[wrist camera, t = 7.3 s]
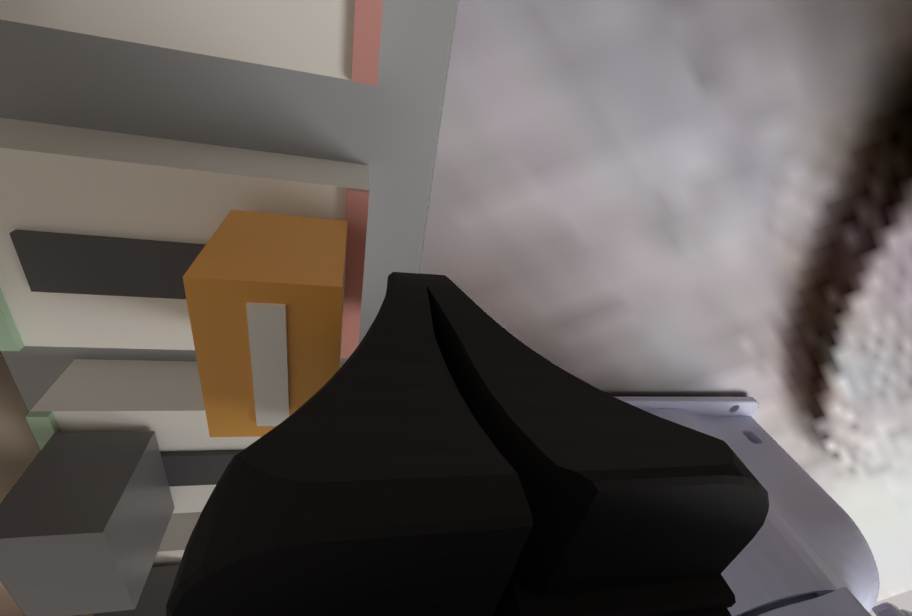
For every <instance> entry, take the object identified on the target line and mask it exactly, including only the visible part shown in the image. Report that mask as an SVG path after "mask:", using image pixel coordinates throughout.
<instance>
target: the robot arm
mask: <svg viewBox="0 0 912 616" xmlns="http://www.w3.org/2000/svg"><path fill="white" fill-rule="evenodd" d="M758 406H759V403H758V402H757V401H756V400H755V399H754V398H753V397H613V396H611V395H609V394H607V393H605V392H603V391H601V390H599V389H597V388H595V387H593V386H591V385H590V384H588V383H586V382H584V381H582V380H580V379H579V378H577V377H575V376H573V375H571V374H569V373H568V372H566V371H564V370H563V369H561V368H559V367H558V366H556V365H554V364H553V363H551V362H550V361H548V360H547V359H545V358H544V357H542V356H541V355H539V354H538V353H536V352H534V351H533V350H531V349H530V348H529V347H527V346H526V345H524V344H523V343H522V342H520V341H519V340H518V339H517V338H515V337H514V336H513V335H511V334H510V333H509V332H508V331H506V330H505V329H504V328H503V327H501V326H500V325H499V324H498V323H497V322H495V321H494V320H493V319H492V318H491V317H490V316H488V315H487V314H486V313H485V312H484V311H483V310H482V309H481V308H480V307H478V306H477V305H476V304H475V303H474V302H473V301H472V300H471V299H470V298H469V297H468V296H467V295H466V294H465V293H464V292H463V291H462V290H461V289H459V288H458V287H457V286H456V285H455V284H454V283H453V282H452V281H451V280H450V279H449V278H447V277H446V276H445V275H431V274H417V273H404V272H392V273H391V274H390V275H388V280H387V289H386V295H385V298H384V301H383V303H382V305H381V307H380V310H379V312H378V314H377V316H376V318H375V320H374V321H373V323H372V325H371V326H370V328H369V330H368V332H367V333H366V335H365V336H364V338H363V339H362V341H361V342H360V344H359V345H358V347H357V348H356V349H355V351H354V352H353V353H352V354H351V356H350V357H349V358H348V360H347V361H346V362H345V363H344V364H343V365H342V367H341V368H340V369H339V370H338V371H337V372H336V373H335V374H334V375H333V377H332V378H331V379H330V380H329V381H328V382H327V383H326V384H325V385H324V386H323V387H322V388H321V389H320V390H319V391H318V392H317V393H315V394H314V395H313V396H312V397H311V398H310V399H309V400H307V401H306V402H305V403H304V404H303V405H302V406H301V407H299V408H298V409H297V410H296V411H295V412H294V413H293V414H292V415H290V416H289V417H288V418H287V419H285V420H284V421H283V422H282V423H280V424H279V425H278V426H276V427H275V428H273V429H272V430H271V431H269V432H268V433H266V434H265V435H264V436H262V437H261V438H259V439H258V440H257V441H255V442H254V443H252V444H251V445H250V446H248V447H247V448H245V449H244V450H243V451H241V452H240V453H238V454H237V455H235V456H234V457H233V458H232V460H231V461H230V463H229V464H228V466H227V468H226V469H225V471H224V473H223V474H222V476H221V478H220V479H219V481H218V483H217V484H216V486H215V488H214V490H213V492H212V493H211V495H210V497H209V499H208V501H207V503H206V505H205V506H204V508H203V510H202V512H201V514H200V517H199V519H198V521H197V523H196V525H195V527H194V529H193V531H192V533H191V536H190V538H189V540H188V543H187V545H186V548H185V551H184V554H183V557H182V560H181V563H180V566H179V569H178V571H177V574H176V577H175V580H174V583H173V586H172V589H171V592H170V595H169V598H168V601H167V604H166V616H871V615H870V613H871V612H872V610H873V611H874V613H875V614H876V615H877V616H912V612H910V611H906V610H903V609H902V610H900V609H898V608H897V607H896V606H895V605H893V604H891V603H888V602H887V603H882V604H880V605H878V606H876V607H874V606H875V604H876V601H877V597H878V593H879V574H878V570H877V566H876V562H875V560H874V557H873V554H872V552H871V550H870V547H869V545H868V543H867V541H866V540H865V538H864V536H863V534H862V533H861V531H860V530H859V528H858V527H857V525H856V524H855V523H854V521H853V520H852V519H851V518H850V516H849V515H848V514H847V513H846V512H845V511H844V510H843V509H842V508H841V507H840V506H839V505H838V504H837V503H836V502H835V501H834V500H833V499H832V498H831V497H830V496H829V495H828V494H827V493H826V492H825V491H824V490H823V489H822V488H821V487H820V486H819V485H818V484H817V483H816V482H815V481H814V480H813V479H812V478H811V477H810V476H809V475H808V473H807V472H806V471H805V470H804V469H803V468H802V467H801V466H800V465H799V464H798V463H797V462H796V461H795V460H794V459H793V458H792V457H791V456H790V455H789V454H788V453H787V452H786V451H785V450H784V449H783V448H782V447H781V446H780V445H779V444H778V443H777V442H776V441H775V440H774V439H773V438H772V437H771V436H770V435H769V434H768V433H767V432H766V431H765V430H764V429H763V428H762V427H761V426H760V425H759V424H758V423H757V422H756V421H755V420H754V419H753V418H752V415H753V414H754V413H755V411H756V410H757V408H758Z"/></svg>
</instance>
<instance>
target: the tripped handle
mask: <svg viewBox="0 0 912 616" xmlns="http://www.w3.org/2000/svg"><path fill="white" fill-rule="evenodd" d="M346 242H347V221H344V220H334V219H323V218H313V217H303V216H292V215H282V214H272V213H262V212H251V211H241V210H230V212H229V213H228V214H227V216H226V217H225V219H224V220H223V221H222V223H221V224H220V226H219V227H218V228H217V230H216V231H215V233H214V234H213V235H212V237H211V238H210V240H209V241H208V242H207V244H206V245H205V246H204V248H203V249H202V251H201V252H200V253H199V255H198V256H197V258H196V259H195V260H194V262H193V263H192V265H191V266H190V267H189V269H188V270H187V272H186V273H185V274H184V276H183V282H184V288H185V294H186V300H187V306H188V312H189V318H190V324H191V330H192V335H193V341H194V347H195V353H196V359H197V365H198V371H199V377H200V382H201V388H202V394H203V400H204V406H205V412H206V418H207V424H208V430H209V435H210V437H256V436H264V435H265V434H266V433H268V432H269V431H271V430H272V429H273V428H275V427H276V426H278V425H279V424H280V423H282V422H283V421H284V420H285V419H287V418H288V417H289V416H290V415H292V414H293V413H294V412H295V411H296V410H297V409H298V408H299V407H301V406H302V405H303V404H304V403H305V402H306V401H307V400H309V399H310V398H311V397H312V396H313V395H314V394H315V393H317V392H318V391H319V390H320V389H321V388H322V387H323V386H324V385H325V384H326V383H327V382H328V381H329V380H330V379H331V378H332V377H333V375H334V374H335V373H336V372H337V371H338V370H339V369H340V364H341V349H342V328H343V306H344V285H345V264H346Z"/></svg>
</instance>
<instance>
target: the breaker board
mask: <svg viewBox="0 0 912 616" xmlns="http://www.w3.org/2000/svg"><path fill="white" fill-rule="evenodd" d="M457 6H458V0H0V351H1V353H2V355H3V358H4V360H5V362H6V364H7V366H8V368H9V371H10V373H11V375H12V377H13V379H14V382H15V384H16V386H17V388H18V390H19V392H20V395H21V397H22V399H23V401H24V403H25V405H26V408H27V410H28V412H29V413H28V414H27V415H26V416H25V418H26V421H27V423H28V425H29V427H30V429H31V431H32V433H33V436H34V438H35V440H36V442H37V444H38V446H39V448H40V450H41V451H40V452H39V454H38V455H37V456H36V458H35V459H34V460H33V462H32V463H31V464H30V465H29V467H28V468H27V469H26V471H25V472H24V473H23V475H22V476H21V477H20V479H19V480H18V481H17V483H16V484H15V485H14V487H13V488H12V489H11V491H10V492H9V493H8V494H7V496H6V497H5V498H4V500H3V501H2V502H1V504H0V581H1V582H2V583H3V585H4V586H5V588H6V589H7V591H8V592H9V593H10V595H11V596H12V598H13V599H14V601H15V602H16V604H17V605H18V606H19V608H20V609H21V611H22V612H23V614H24V615H25V616H74V615H84V614H93V616H166V604H167V601H168V598H169V595H170V592H171V589H172V586H173V583H174V580H175V577H176V574H177V571H178V569H179V566H180V563H181V560H182V557H183V554H184V551H185V548H186V545H187V543H188V540H189V538H190V536H191V533H192V531H193V529H194V527H195V525H196V523H197V521H198V519H199V517H200V514H201V512H202V510H203V508H204V506H205V505H206V503H207V501H208V499H209V497H210V495H211V493H212V492H213V490H214V488H215V486H216V484H217V483H218V481H219V479H220V478H221V476H222V474H223V473H224V471H225V469H226V468H227V466H228V464H229V463H230V461H231V460H232V458H233V457H234V456H235V455H237V454H238V453H240V452H241V451H243V450H244V449H245V448H247V447H248V446H250V445H251V444H252V443H254V442H255V441H257V440H258V439H259V438H261V437H262V436H256V437H210V435H209V430H208V424H207V418H206V412H205V406H204V400H203V394H202V388H201V382H200V377H199V371H198V365H197V359H196V353H195V347H194V341H193V335H192V330H191V324H190V318H189V312H188V306H187V300H186V294H185V288H184V282H183V276H184V274H185V273H186V272H187V270H188V269H189V267H190V266H191V265H192V263H193V262H194V260H195V259H196V258H197V256H198V255H199V253H200V252H201V251H202V249H203V248H204V246H205V245H206V244H207V242H208V241H209V240H210V238H211V237H212V235H213V234H214V233H215V231H216V230H217V228H218V227H219V226H220V224H221V223H222V221H223V220H224V219H225V217H226V216H227V214H228V213H229V212H230V210H241V211H251V212H262V213H272V214H282V215H292V216H303V217H313V218H323V219H334V220H344V221H347V242H346V264H345V285H344V306H343V328H342V349H341V364H340V368H341V367H342V365H343V364H344V363H345V362H346V361H347V360H348V358H349V357H350V356H351V354H352V353H353V352H354V351H355V349H356V348H357V347H358V345H359V344H360V342H361V341H362V339H363V338H364V336H365V335H366V333H367V332H368V330H369V328H370V326H371V325H372V323H373V321H374V320H375V318H376V316H377V314H378V312H379V310H380V307H381V305H382V303H383V301H384V298H385V295H386V289H387V280H388V275H390V274H391V273H392V272H404V273H417V274H419V268H420V261H421V255H422V248H423V241H424V234H425V227H426V220H427V213H428V206H429V199H430V192H431V186H432V179H433V172H434V165H435V158H436V151H437V144H438V137H439V130H440V123H441V117H442V110H443V103H444V96H445V89H446V82H447V75H448V68H449V61H450V54H451V48H452V41H453V34H454V27H455V20H456V13H457Z"/></svg>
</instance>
